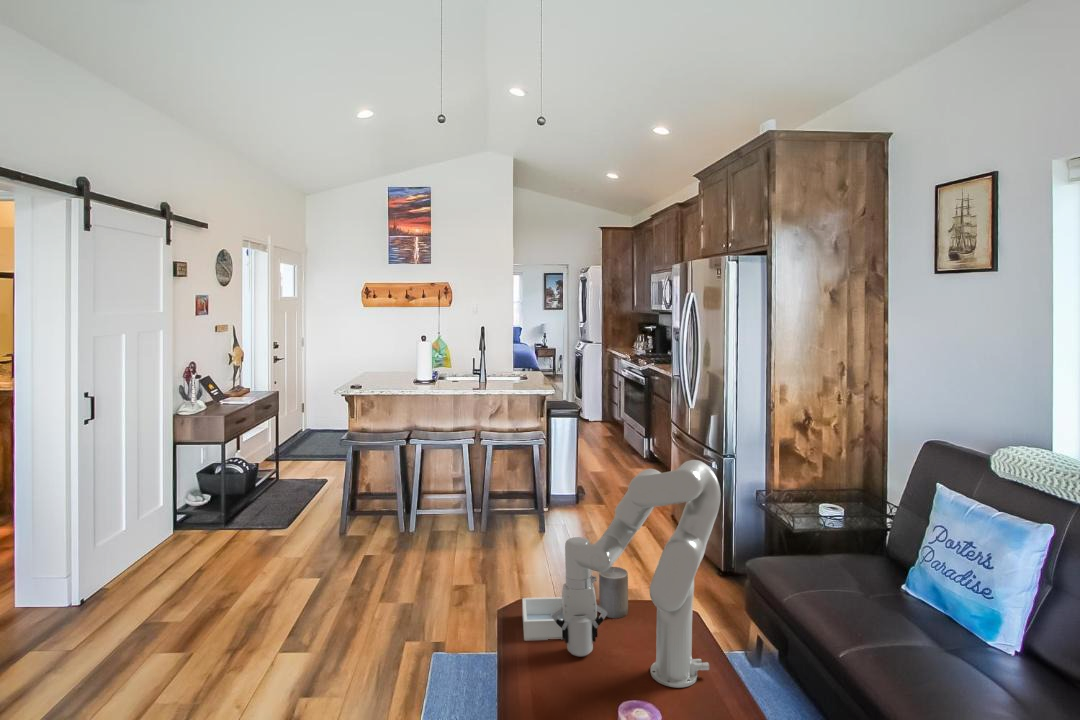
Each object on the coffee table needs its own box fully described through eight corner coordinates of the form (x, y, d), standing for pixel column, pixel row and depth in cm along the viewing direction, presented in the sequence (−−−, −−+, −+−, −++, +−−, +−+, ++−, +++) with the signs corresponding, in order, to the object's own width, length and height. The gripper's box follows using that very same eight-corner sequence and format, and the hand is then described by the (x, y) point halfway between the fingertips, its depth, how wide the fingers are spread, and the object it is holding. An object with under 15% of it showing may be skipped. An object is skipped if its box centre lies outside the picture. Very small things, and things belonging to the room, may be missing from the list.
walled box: (570, 614, 205) (570, 596, 205) (576, 639, 190) (576, 620, 189) (522, 615, 205) (522, 598, 204) (524, 640, 189) (524, 621, 188)
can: (563, 647, 184) (562, 607, 183) (587, 642, 186) (586, 603, 185) (572, 659, 176) (571, 618, 176) (596, 655, 179) (596, 614, 178)
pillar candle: (625, 604, 212) (624, 562, 212) (630, 618, 203) (630, 573, 202) (596, 606, 212) (596, 563, 211) (601, 619, 202) (601, 574, 201)
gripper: (606, 574, 184) (607, 632, 185) (547, 577, 183) (549, 635, 184) (610, 585, 177) (611, 645, 178) (549, 588, 176) (551, 648, 177)
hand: (579, 639), depth 181 cm, fingers closed on can, 7 cm apart
